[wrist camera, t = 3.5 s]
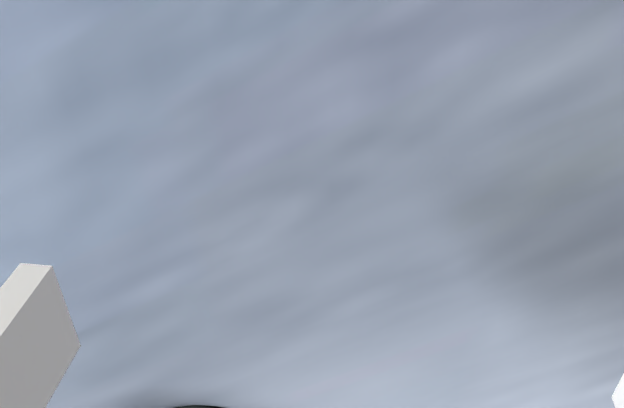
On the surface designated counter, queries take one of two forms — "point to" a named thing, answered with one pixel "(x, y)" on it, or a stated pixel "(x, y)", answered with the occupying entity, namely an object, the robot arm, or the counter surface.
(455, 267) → the counter surface
